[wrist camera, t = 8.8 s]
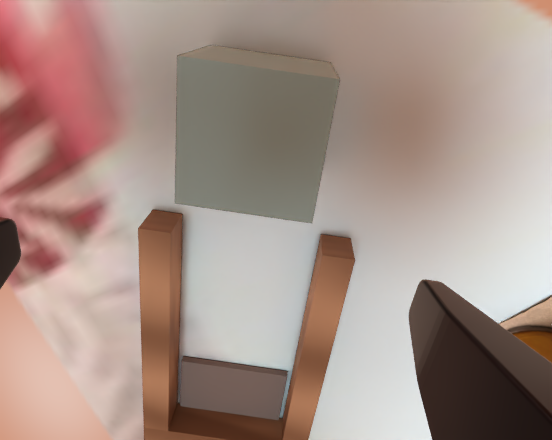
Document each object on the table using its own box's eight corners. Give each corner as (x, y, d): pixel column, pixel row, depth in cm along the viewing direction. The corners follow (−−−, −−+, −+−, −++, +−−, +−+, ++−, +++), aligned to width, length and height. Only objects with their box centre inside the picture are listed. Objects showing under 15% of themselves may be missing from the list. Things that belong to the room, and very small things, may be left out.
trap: (278, 414, 27) (278, 420, 26) (181, 400, 27) (180, 406, 26) (287, 371, 25) (287, 376, 24) (183, 356, 25) (181, 361, 24)
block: (310, 174, 19) (312, 223, 15) (205, 159, 19) (174, 203, 15) (330, 62, 17) (340, 79, 12) (211, 44, 17) (177, 55, 12)
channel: (301, 436, 27) (301, 465, 26) (154, 415, 27) (144, 443, 26) (350, 238, 20) (354, 260, 19) (152, 209, 20) (138, 228, 19)
